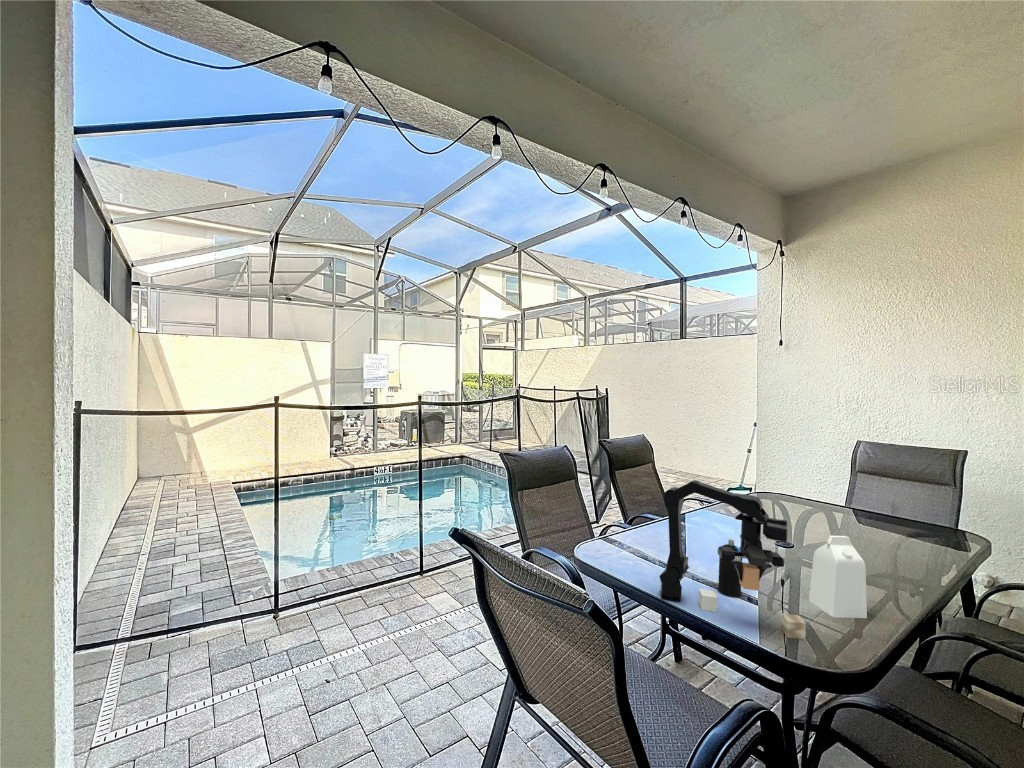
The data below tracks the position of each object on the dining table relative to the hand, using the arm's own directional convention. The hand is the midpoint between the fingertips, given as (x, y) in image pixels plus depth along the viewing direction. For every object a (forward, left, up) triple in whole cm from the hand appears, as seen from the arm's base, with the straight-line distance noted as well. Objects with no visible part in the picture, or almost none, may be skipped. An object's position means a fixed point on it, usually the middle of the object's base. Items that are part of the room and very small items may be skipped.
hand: (748, 581), depth 142 cm
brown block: (0, 0, -2) cm, 2 cm away
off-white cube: (-11, +6, -13) cm, 18 cm away
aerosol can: (0, +21, -13) cm, 25 cm away
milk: (+35, +19, -13) cm, 42 cm away
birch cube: (+12, -4, -13) cm, 18 cm away
